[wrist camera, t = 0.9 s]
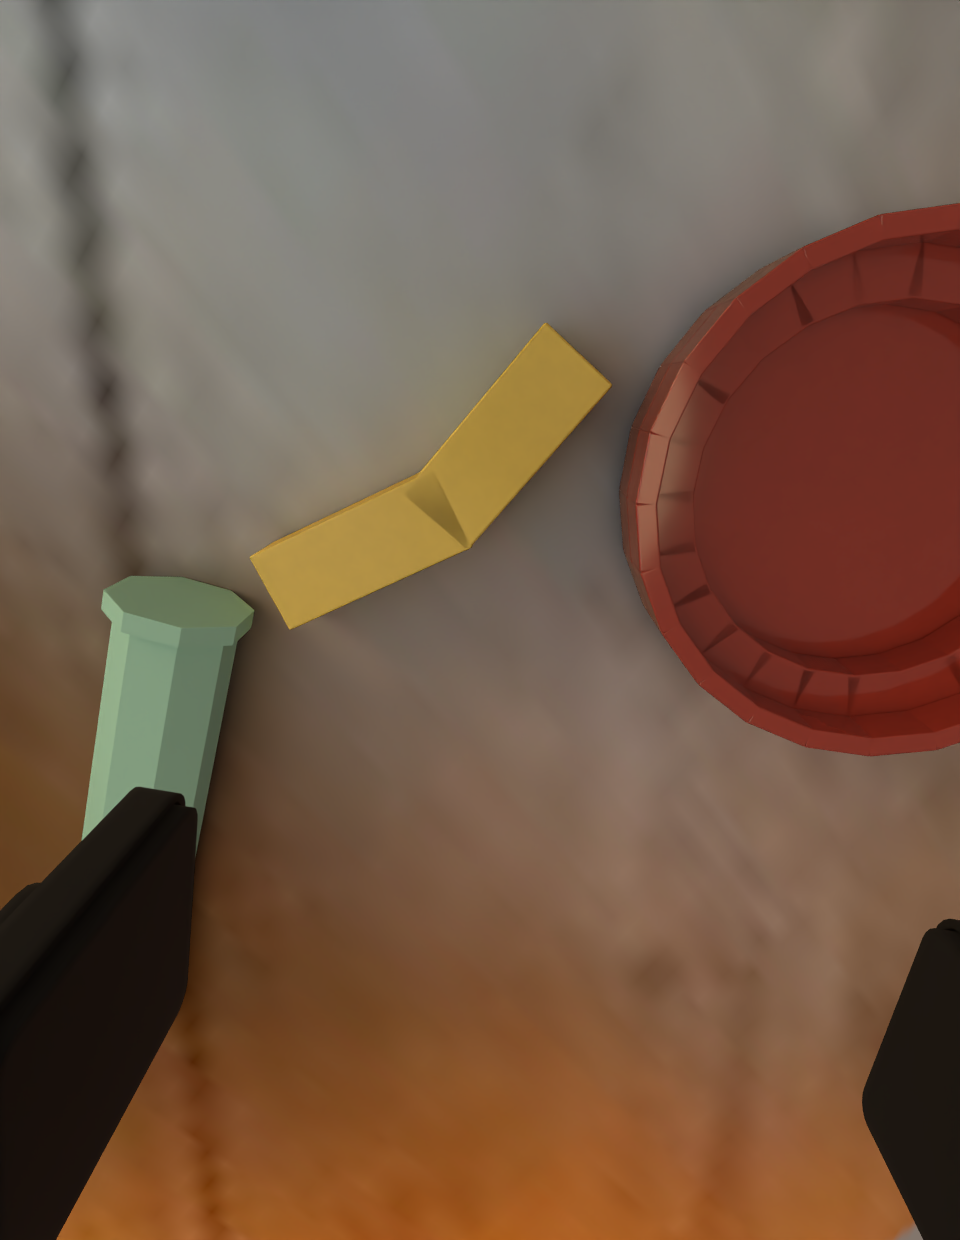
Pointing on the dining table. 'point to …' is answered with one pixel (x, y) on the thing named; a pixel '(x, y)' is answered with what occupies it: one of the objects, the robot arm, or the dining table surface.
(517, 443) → the banana
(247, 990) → the dining table surface
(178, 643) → the pale green faceted rod
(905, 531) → the bowl
